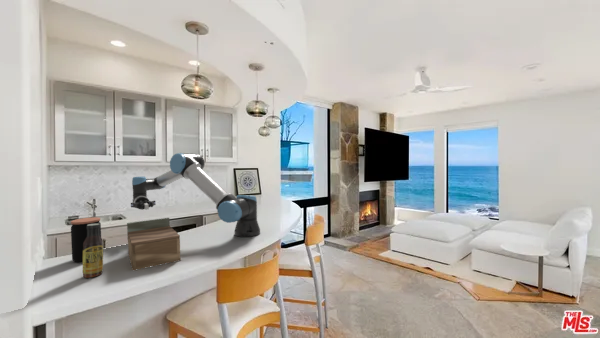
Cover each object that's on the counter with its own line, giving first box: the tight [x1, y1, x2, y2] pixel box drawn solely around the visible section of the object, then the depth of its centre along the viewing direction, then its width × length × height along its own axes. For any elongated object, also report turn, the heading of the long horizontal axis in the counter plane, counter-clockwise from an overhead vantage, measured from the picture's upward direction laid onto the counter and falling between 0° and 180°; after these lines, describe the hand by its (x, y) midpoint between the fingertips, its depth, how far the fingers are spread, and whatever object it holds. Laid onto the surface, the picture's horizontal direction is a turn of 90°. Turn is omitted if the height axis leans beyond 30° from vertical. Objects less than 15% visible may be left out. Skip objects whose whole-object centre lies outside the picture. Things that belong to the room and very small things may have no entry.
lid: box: [126, 217, 181, 246], centre depth 124 cm, size 25×18×8 cm
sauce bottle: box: [82, 224, 104, 279], centre depth 104 cm, size 6×6×20 cm
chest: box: [127, 236, 181, 271], centre depth 123 cm, size 22×18×10 cm
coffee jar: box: [70, 217, 102, 264], centre depth 123 cm, size 11×11×18 cm
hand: (147, 207), depth 146 cm, fingers closed
